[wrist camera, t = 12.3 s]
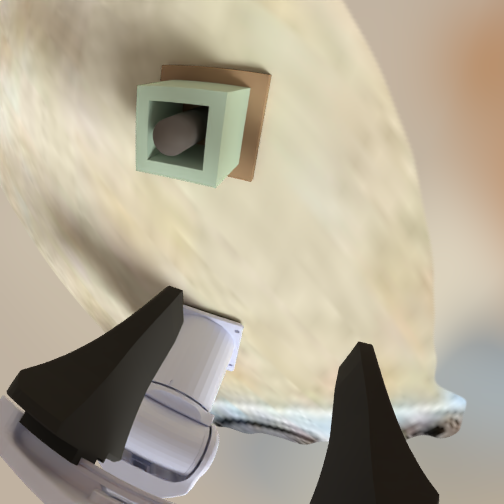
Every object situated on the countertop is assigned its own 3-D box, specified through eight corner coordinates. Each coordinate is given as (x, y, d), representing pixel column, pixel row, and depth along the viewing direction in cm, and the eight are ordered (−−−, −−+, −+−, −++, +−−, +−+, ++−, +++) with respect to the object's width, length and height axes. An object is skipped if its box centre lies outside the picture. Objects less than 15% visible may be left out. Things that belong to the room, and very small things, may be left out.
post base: (253, 178, 19) (228, 213, 15) (160, 158, 19) (118, 186, 15) (271, 75, 14) (248, 75, 10) (166, 65, 15) (117, 69, 11)
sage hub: (238, 163, 18) (215, 188, 14) (169, 150, 18) (136, 170, 15) (250, 87, 15) (227, 92, 11) (174, 79, 15) (137, 85, 12)
